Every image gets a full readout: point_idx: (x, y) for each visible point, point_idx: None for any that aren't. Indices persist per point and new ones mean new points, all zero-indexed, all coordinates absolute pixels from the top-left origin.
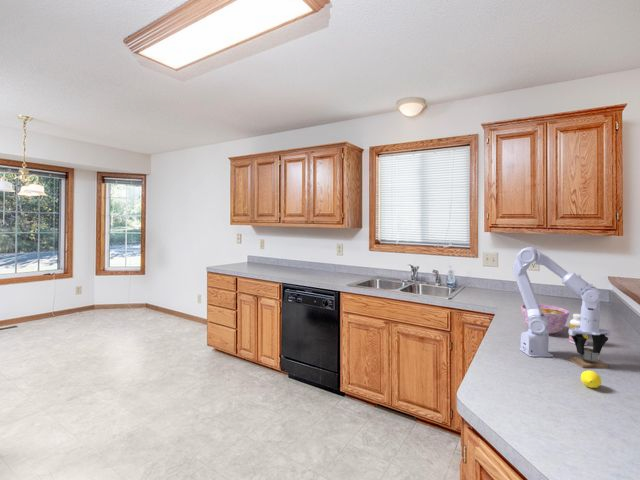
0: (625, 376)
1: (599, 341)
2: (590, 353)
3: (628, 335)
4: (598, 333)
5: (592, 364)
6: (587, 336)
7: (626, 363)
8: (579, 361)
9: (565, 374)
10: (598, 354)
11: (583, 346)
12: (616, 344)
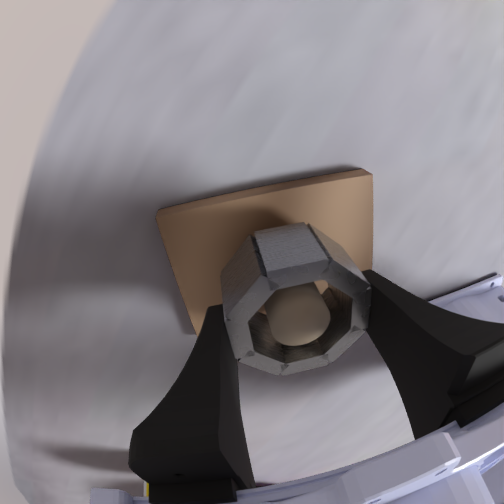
0: (126, 65)
1: (226, 412)
2: (334, 256)
3: (23, 480)
4: (399, 487)
5: (290, 204)
6: (147, 489)
7: (33, 313)
8: (350, 244)
9: (495, 71)
10: (216, 305)
11: (409, 307)
12: (49, 456)
